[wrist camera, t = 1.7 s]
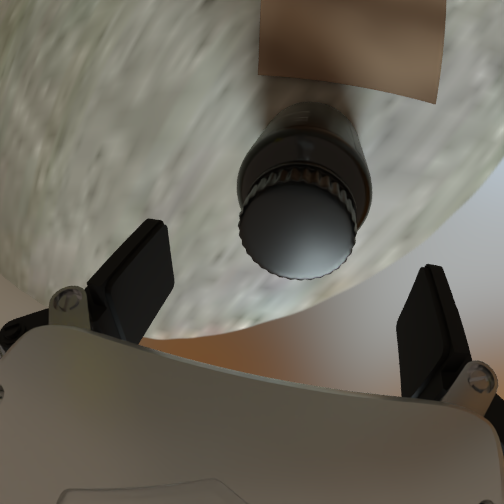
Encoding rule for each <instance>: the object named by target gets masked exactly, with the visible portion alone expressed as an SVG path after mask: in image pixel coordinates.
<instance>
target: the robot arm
mask: <svg viewBox="0 0 504 504" xmlns="http://www.w3.org/2000/svg"><path fill="white" fill-rule="evenodd" d="M87 285H88V286H87V287H86V288H85V290H84V289H83V288H81V287H79V286H68V287H65V288H62V289H60V290H59V291H57V292H56V293H55V294H54V295H53V296H52V298H51V299H50V302H49V308H48V309H44V310H41V311H38V312H35V313H32V314H29V315H26V316H23V317H20V318H17V319H14V320H12V321H9V322H8V323H6V324H5V325H4V326H3V328H2V329H1V331H0V504H504V400H503V399H501V397H500V396H499V395H497V394H496V392H497V388H498V379H497V376H496V374H495V372H494V371H493V369H492V368H491V367H490V366H489V365H487V364H485V363H484V362H481V361H472V358H471V354H470V350H469V346H468V343H467V339H466V335H465V332H464V328H463V325H462V322H461V318H460V316H459V312H458V309H457V307H456V305H455V302H454V299H453V296H452V293H451V290H450V287H449V284H448V281H447V279H446V276H445V273H444V271H443V268H442V267H441V266H437V265H431V264H426V266H425V267H421V268H420V270H419V272H418V275H417V277H416V280H415V282H414V285H413V287H412V290H411V292H410V294H409V296H408V299H407V301H406V303H405V305H404V308H403V310H402V312H401V314H400V316H399V318H398V321H397V325H396V332H397V341H398V352H399V364H400V377H401V393H402V394H401V395H402V397H396V396H387V395H378V394H369V393H361V392H353V391H345V390H338V389H331V388H324V387H318V386H312V385H305V384H300V383H294V382H288V381H283V380H278V379H273V378H267V377H262V376H258V375H252V374H248V373H243V372H239V371H234V370H230V369H226V368H221V367H217V366H213V365H209V364H205V363H201V362H197V361H194V360H190V359H186V358H182V357H178V356H175V355H171V354H168V353H164V352H161V351H157V350H154V349H151V348H147V347H144V346H140V345H138V344H139V342H140V340H141V339H142V338H143V336H144V334H145V333H146V331H147V329H148V328H149V326H150V324H151V323H152V321H153V320H154V318H155V316H156V315H157V313H158V312H159V310H160V308H161V307H162V305H163V304H164V302H165V300H166V299H167V297H168V296H169V294H170V292H171V291H172V289H173V287H174V274H173V267H172V260H171V252H170V244H169V236H168V228H167V226H166V225H164V223H163V221H161V220H155V219H146V220H145V221H144V222H143V223H142V224H141V225H140V226H139V227H138V228H137V229H136V230H135V231H134V232H133V233H132V234H131V235H130V237H129V238H128V239H127V240H126V241H125V242H124V243H123V244H122V245H121V246H120V247H119V248H118V249H117V250H116V251H115V252H114V253H113V254H112V255H111V257H110V258H109V259H108V260H107V261H106V262H105V263H104V264H103V265H102V266H101V267H100V269H99V270H98V271H97V272H96V273H95V274H94V275H93V276H92V277H91V279H90V280H89V281H88V282H87Z"/></svg>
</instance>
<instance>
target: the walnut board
mask: <svg viewBox="0 0 504 504" xmlns="http://www.w3.org/2000/svg"><path fill="white" fill-rule="evenodd" d="M445 19H446V0H261V12H260V38H259V63H258V75H267V76H281V77H292V78H302V79H311V80H319V81H326V82H333V83H340V84H346V85H352V86H358V87H364V88H369V89H374V90H379V91H384V92H388V93H393V94H397V95H401V96H406V97H410V98H414V99H418V100H421V101H425V102H429V103H432V104H436V99H437V93H438V86H439V79H440V72H441V64H442V55H443V45H444V34H445Z"/></svg>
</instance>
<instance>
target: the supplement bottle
mask: <svg viewBox="0 0 504 504" xmlns="http://www.w3.org/2000/svg"><path fill="white" fill-rule="evenodd" d="M237 196H238V201H239V205H240V208H241V212H240V215H239V217H240V221H239V223H238V227H239V230H240V232H239V236H240V238H241V239H242V245H243V246H244V247H245V248H246V252H247V254H248V255H250V256H251V257H252V259H253V261H254V262H256V263H258V264H259V266H260V267H261V268H263V269H266V270H267V271H268V272H269V273H271V274H276V275H277V276H279V277H285V278H287V279H290V280H292V279H297V280H304V279H308V280H312V279H314V278H321V277H323V276H324V275H327V274H331V273H332V272H333V271H334V270H336V269H338V268H339V267H340V265H341V264H343V263H344V262H346V260H347V257H348V256H349V255H350V254H351V253H352V248H353V246H354V245H355V243H356V240H355V237H356V234H357V231H358V230H359V229H360V227H361V226H362V225H363V223H364V221H365V220H366V218H367V215H368V213H369V210H370V207H371V202H372V183H371V177H370V173H369V170H368V166H367V163H366V160H365V156H364V153H363V150H362V147H361V144H360V141H359V138H358V135H357V133H356V131H355V129H354V127H353V125H352V124H351V122H350V121H349V120H348V119H347V118H346V117H345V116H344V115H343V114H342V113H341V112H339V111H338V110H336V109H335V108H333V107H331V106H328V105H326V104H322V103H317V102H302V103H298V104H294V105H292V106H289V107H287V108H286V109H284V110H282V111H281V112H280V113H279V114H277V115H276V116H275V117H274V119H273V120H272V121H271V122H270V123H269V125H268V126H267V127H266V129H265V130H264V131H263V133H262V134H261V135H260V137H259V138H258V139H257V141H256V142H255V143H254V145H253V146H252V147H251V149H250V150H249V152H248V153H247V155H246V156H245V158H244V160H243V162H242V164H241V167H240V170H239V173H238V178H237Z"/></svg>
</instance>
